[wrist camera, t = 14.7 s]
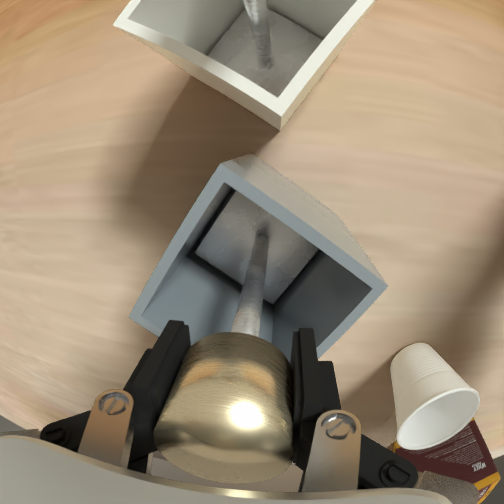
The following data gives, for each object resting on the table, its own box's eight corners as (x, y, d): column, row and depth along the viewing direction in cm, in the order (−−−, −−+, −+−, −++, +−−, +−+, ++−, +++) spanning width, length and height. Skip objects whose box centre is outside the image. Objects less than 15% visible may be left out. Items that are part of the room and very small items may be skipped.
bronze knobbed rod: (253, 4, 21) (212, -149, 3) (328, 47, 22) (404, -88, 4) (201, 68, 23) (72, -31, 5) (277, 114, 24) (272, 44, 6)
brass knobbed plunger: (249, 172, 24) (149, 273, 5) (330, 230, 25) (422, 428, 6) (196, 250, 26) (71, 434, 8) (272, 301, 27) (256, 517, 9)
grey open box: (251, 153, 27) (220, 163, 13) (338, 216, 28) (388, 285, 14) (193, 238, 30) (128, 317, 16) (276, 292, 32) (270, 401, 18)
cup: (363, 385, 35) (380, 452, 25) (394, 323, 32) (428, 388, 22) (423, 389, 35) (448, 447, 25) (456, 332, 32) (496, 387, 21)
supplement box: (392, 441, 40) (410, 518, 25) (471, 412, 37) (502, 478, 22) (389, 467, 43) (403, 533, 28) (461, 442, 40) (483, 501, 26)
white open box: (251, -1, 22) (228, -96, 8) (341, 51, 23) (393, -22, 9) (191, 75, 25) (112, 25, 11) (280, 131, 26) (281, 116, 12)
